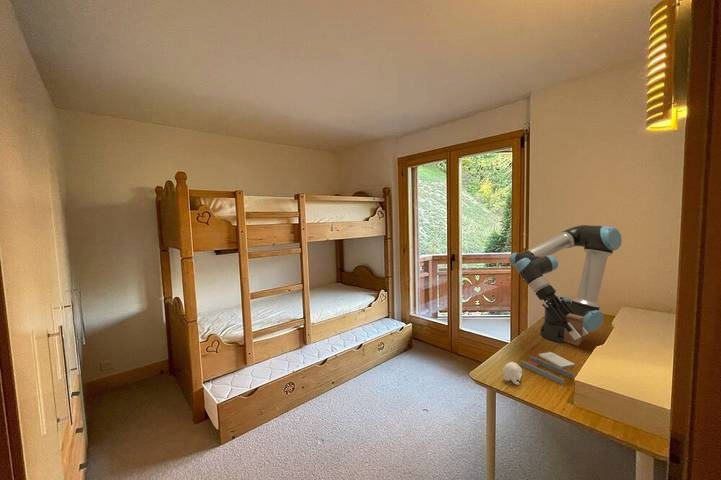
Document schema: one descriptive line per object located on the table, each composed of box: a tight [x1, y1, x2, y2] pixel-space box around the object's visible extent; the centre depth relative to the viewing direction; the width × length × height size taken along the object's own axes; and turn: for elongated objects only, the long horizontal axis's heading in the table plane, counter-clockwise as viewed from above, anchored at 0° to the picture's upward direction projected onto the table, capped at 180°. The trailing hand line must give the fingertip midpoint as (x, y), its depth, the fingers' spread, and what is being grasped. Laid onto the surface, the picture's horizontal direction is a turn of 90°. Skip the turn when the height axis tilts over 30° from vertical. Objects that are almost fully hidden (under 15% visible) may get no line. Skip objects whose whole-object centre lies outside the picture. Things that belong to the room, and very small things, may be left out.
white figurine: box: [502, 361, 523, 386], centre depth 125 cm, size 6×8×12 cm
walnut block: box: [564, 314, 584, 346], centre depth 123 cm, size 5×5×11 cm
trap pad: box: [526, 360, 540, 367], centre depth 137 cm, size 6×4×1 cm
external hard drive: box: [538, 351, 576, 370], centre depth 141 cm, size 2×8×12 cm
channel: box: [519, 355, 575, 385], centre depth 131 cm, size 9×18×2 cm, turn 31°
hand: (581, 336), depth 120 cm, fingers closed on walnut block, 6 cm apart
